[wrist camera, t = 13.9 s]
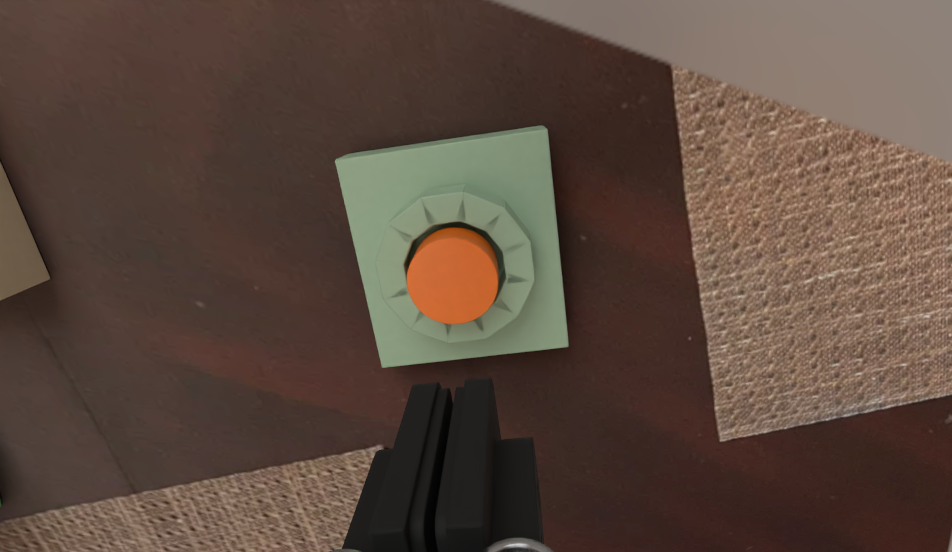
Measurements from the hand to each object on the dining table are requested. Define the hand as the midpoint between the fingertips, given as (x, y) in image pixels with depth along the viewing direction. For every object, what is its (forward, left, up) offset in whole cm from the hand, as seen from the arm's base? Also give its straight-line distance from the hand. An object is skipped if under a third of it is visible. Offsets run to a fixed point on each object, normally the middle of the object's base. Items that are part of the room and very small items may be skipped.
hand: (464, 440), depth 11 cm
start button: (0, -1, -12) cm, 12 cm away
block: (0, -1, -15) cm, 15 cm away
